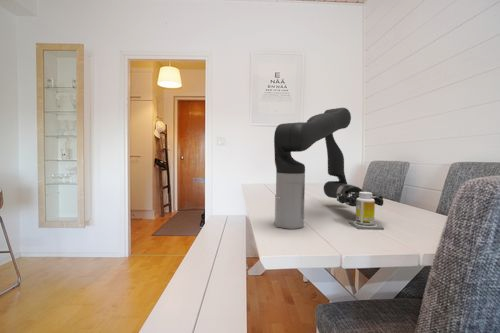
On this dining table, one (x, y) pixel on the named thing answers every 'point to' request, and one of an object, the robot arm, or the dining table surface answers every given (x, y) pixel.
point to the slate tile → (366, 226)
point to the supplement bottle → (365, 208)
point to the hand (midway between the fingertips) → (368, 202)
